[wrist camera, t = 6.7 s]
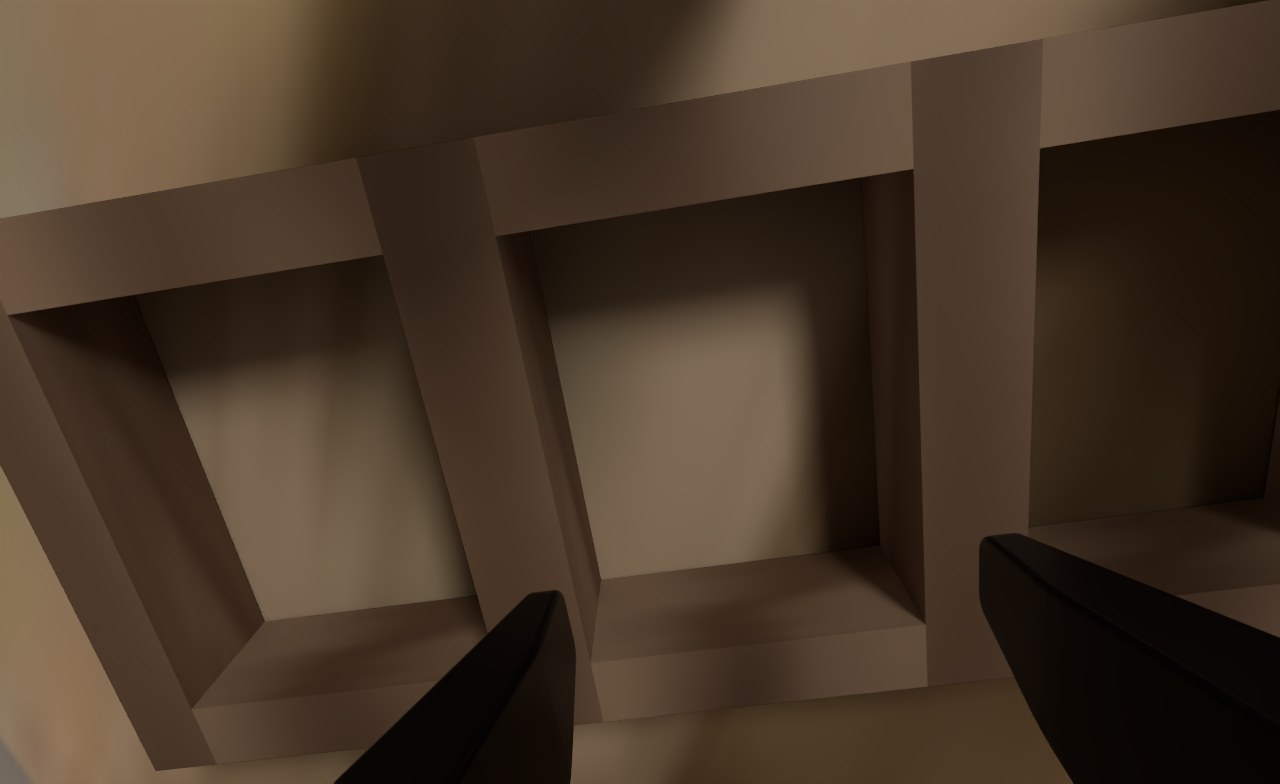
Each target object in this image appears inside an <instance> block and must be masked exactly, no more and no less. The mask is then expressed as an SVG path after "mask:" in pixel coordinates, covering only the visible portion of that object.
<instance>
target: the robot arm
mask: <svg viewBox="0 0 1280 784" xmlns="http://www.w3.org/2000/svg"><path fill="white" fill-rule="evenodd" d="M979 599H980V604H981V608H982V611H983V613H984V616H985V618H986V620H987V622H988V624H989V626H990V628H991V630H992V632H993V634H994V636H995V638H996V640H997V642H998V644H999V646H1000V649H1001V651H1002V653H1003V655H1004V657H1005V659H1006V661H1007V663H1008V665H1009V667H1010V669H1011V671H1012V673H1013V675H1014V677H1015V679H1016V681H1017V684H1018V686H1019V688H1020V690H1021V692H1022V694H1023V696H1024V698H1025V700H1026V702H1027V704H1028V706H1029V708H1030V710H1031V712H1032V714H1033V716H1034V718H1035V720H1036V722H1037V724H1038V726H1039V728H1040V729H1041V731H1042V733H1043V735H1044V736H1045V738H1046V740H1047V741H1048V743H1049V745H1050V746H1051V748H1052V750H1053V751H1054V753H1055V755H1056V756H1057V758H1058V759H1059V761H1060V763H1061V764H1062V766H1063V767H1064V769H1065V771H1066V772H1067V774H1068V775H1069V777H1070V779H1071V780H1072V782H1073V783H1074V784H1280V637H1277V636H1275V635H1272V634H1270V633H1267V632H1265V631H1262V630H1260V629H1257V628H1255V627H1252V626H1250V625H1247V624H1245V623H1242V622H1240V621H1237V620H1235V619H1232V618H1230V617H1227V616H1225V615H1222V614H1220V613H1217V612H1215V611H1212V610H1210V609H1207V608H1205V607H1202V606H1200V605H1197V604H1195V603H1192V602H1190V601H1187V600H1185V599H1182V598H1180V597H1177V596H1175V595H1172V594H1170V593H1167V592H1165V591H1162V590H1160V589H1157V588H1155V587H1152V586H1150V585H1147V584H1145V583H1142V582H1140V581H1137V580H1135V579H1132V578H1130V577H1127V576H1125V575H1122V574H1120V573H1117V572H1115V571H1112V570H1110V569H1107V568H1104V567H1102V566H1099V565H1097V564H1094V563H1092V562H1089V561H1087V560H1084V559H1082V558H1079V557H1077V556H1074V555H1072V554H1069V553H1067V552H1064V551H1062V550H1059V549H1057V548H1054V547H1052V546H1049V545H1047V544H1044V543H1042V542H1039V541H1037V540H1034V539H1032V538H1029V537H1027V536H1024V535H1022V534H1019V533H1007V534H1000V535H992V536H986V537H984V538H983V539H982V540H981V542H980V546H979ZM575 679H576V649H575V642H574V637H573V633H572V629H571V624H570V620H569V616H568V611H567V607H566V603H565V599H564V596H563V594H562V593H561V592H560V591H559V590H549V591H541V592H533V593H530V594H528V595H527V596H526V597H525V598H524V599H523V600H522V601H520V602H519V603H518V604H517V605H516V606H515V607H514V608H513V609H512V610H511V611H510V612H509V613H508V614H507V615H506V616H505V617H504V618H503V619H502V620H501V621H500V622H499V623H498V624H497V625H496V626H495V627H494V628H493V629H492V630H491V631H490V632H489V633H488V634H486V635H485V636H484V637H483V638H482V639H481V640H480V641H479V642H478V643H477V644H476V645H475V646H474V647H473V648H472V649H471V650H470V651H469V652H468V653H467V654H466V655H465V656H464V657H463V658H462V659H461V660H460V661H459V662H458V663H457V664H456V665H455V666H453V667H452V668H451V669H450V670H449V671H448V672H447V673H446V674H445V675H444V676H443V677H442V678H441V679H440V680H439V681H438V682H437V683H436V684H435V685H434V686H433V687H432V688H431V689H430V690H429V691H428V692H427V693H426V694H425V695H424V696H423V697H422V698H421V699H419V700H418V701H417V702H416V703H415V704H414V705H413V706H412V707H411V708H410V709H409V710H408V711H407V712H406V713H405V714H404V715H403V716H402V717H401V718H400V719H399V720H398V721H397V722H396V723H395V724H394V725H393V726H392V727H391V728H390V729H389V730H388V731H387V732H385V733H384V734H383V735H382V736H381V737H380V738H379V739H378V740H377V741H376V742H375V743H374V744H373V745H372V746H371V747H370V748H369V749H368V750H367V751H366V752H365V753H364V754H363V755H362V756H361V757H360V758H359V759H358V760H357V761H356V762H355V763H354V764H353V765H351V766H350V767H349V768H348V769H347V770H346V771H345V772H344V773H343V774H342V775H341V776H340V777H339V778H338V779H337V780H336V781H335V782H334V784H570V780H571V767H572V750H573V726H574V702H575Z"/></svg>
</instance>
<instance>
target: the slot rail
mask: <svg viewBox="0 0 1280 784" xmlns="http://www.w3.org/2000/svg"><path fill="white" fill-rule="evenodd" d="M1275 110H1280V0H1267V1H1261V2H1255V3H1249V4H1243V5H1238V6H1232V7H1226V8H1220V9H1214V10H1209V11H1203V12H1197V13H1191V14H1185V15H1180V16H1174V17H1168V18H1162V19H1156V20H1151V21H1145V22H1139V23H1133V24H1127V25H1122V26H1116V27H1110V28H1104V29H1098V30H1093V31H1087V32H1081V33H1075V34H1069V35H1064V36H1058V37H1052V38H1046V39H1040V40H1035V41H1029V42H1023V43H1017V44H1011V45H1006V46H1000V47H994V48H988V49H982V50H977V51H971V52H965V53H959V54H953V55H948V56H942V57H936V58H930V59H924V60H919V61H913V62H907V63H901V64H895V65H889V66H884V67H878V68H872V69H866V70H860V71H855V72H849V73H843V74H837V75H831V76H826V77H820V78H814V79H808V80H802V81H797V82H791V83H785V84H779V85H773V86H768V87H762V88H756V89H750V90H744V91H739V92H733V93H727V94H721V95H715V96H710V97H704V98H698V99H692V100H686V101H681V102H675V103H669V104H663V105H657V106H652V107H646V108H640V109H634V110H628V111H623V112H617V113H611V114H605V115H599V116H594V117H588V118H582V119H576V120H570V121H565V122H559V123H553V124H547V125H541V126H536V127H530V128H524V129H518V130H512V131H506V132H501V133H495V134H489V135H483V136H477V137H472V138H466V139H460V140H454V141H448V142H443V143H437V144H431V145H425V146H419V147H414V148H408V149H402V150H396V151H390V152H385V153H379V154H373V155H367V156H361V157H356V158H350V159H344V160H338V161H332V162H327V163H321V164H315V165H309V166H303V167H298V168H292V169H286V170H280V171H274V172H269V173H263V174H257V175H251V176H245V177H240V178H234V179H228V180H222V181H216V182H211V183H205V184H199V185H193V186H187V187H182V188H176V189H170V190H164V191H158V192H152V193H147V194H141V195H135V196H129V197H123V198H118V199H112V200H106V201H100V202H94V203H89V204H83V205H77V206H71V207H65V208H60V209H54V210H48V211H42V212H36V213H31V214H25V215H19V216H13V217H7V218H2V219H0V465H1V467H2V469H3V471H4V473H5V475H6V477H7V479H8V481H9V483H10V485H11V487H12V489H13V491H14V493H15V494H16V496H17V498H18V500H19V502H20V504H21V506H22V508H23V510H24V512H25V514H26V516H27V518H28V520H29V522H30V524H31V526H32V528H33V530H34V532H35V534H36V536H37V538H38V540H39V542H40V544H41V546H42V548H43V550H44V552H45V554H46V556H47V558H48V560H49V562H50V564H51V565H52V567H53V569H54V571H55V573H56V575H57V577H58V579H59V581H60V583H61V585H62V587H63V589H64V591H65V593H66V595H67V597H68V599H69V601H70V603H71V605H72V607H73V609H74V611H75V613H76V615H77V617H78V619H79V621H80V623H81V625H82V627H83V629H84V631H85V633H86V634H87V636H88V638H89V640H90V642H91V644H92V646H93V648H94V650H95V652H96V654H97V656H98V658H99V660H100V662H101V664H102V666H103V668H104V670H105V672H106V674H107V676H108V678H109V680H110V682H111V684H112V686H113V688H114V690H115V692H116V694H117V696H118V698H119V700H120V702H121V704H122V705H123V707H124V709H125V711H126V713H127V715H128V717H129V719H130V721H131V723H132V725H133V727H134V729H135V731H136V733H137V735H138V737H139V739H140V741H141V743H142V745H143V747H144V749H145V751H146V753H147V755H148V757H149V759H150V761H151V763H152V765H153V767H154V769H155V771H160V770H169V769H178V768H187V767H196V766H205V765H215V764H224V763H233V762H242V761H251V760H260V759H269V758H279V757H288V756H297V755H306V754H315V753H324V752H334V751H343V750H352V749H361V748H370V747H371V746H372V745H373V744H374V743H375V742H376V741H377V740H378V739H379V738H380V737H381V736H382V735H383V734H384V733H385V732H387V731H388V730H389V729H390V728H391V727H392V726H393V725H394V724H395V723H396V722H397V721H398V720H399V719H400V718H401V717H402V716H403V715H404V714H405V713H406V712H407V711H408V710H409V709H410V708H411V707H412V706H413V705H414V704H415V703H416V702H417V701H418V700H419V699H421V698H422V697H423V696H424V695H425V694H426V693H427V692H428V691H429V690H430V689H431V688H432V687H433V686H434V685H435V684H436V683H437V682H438V681H439V680H440V679H441V678H442V677H443V676H444V675H445V674H446V673H447V672H448V671H449V670H450V669H451V668H452V667H453V666H455V665H456V664H457V663H458V662H459V661H460V660H461V659H462V658H463V657H464V656H465V655H466V654H467V653H468V652H469V651H470V650H471V649H472V648H473V647H474V646H475V645H476V644H477V643H478V642H479V641H480V640H481V639H482V638H483V637H484V636H485V635H486V634H488V633H489V632H490V631H491V630H492V629H493V628H494V627H495V626H496V625H497V624H498V623H499V622H500V621H501V620H502V619H503V618H504V617H505V616H506V615H507V614H508V613H509V612H510V611H511V610H512V609H513V608H514V607H515V606H516V605H517V604H518V603H519V602H520V601H522V600H523V599H524V598H525V597H526V596H527V595H528V594H530V593H533V592H541V591H549V590H559V591H560V592H561V593H562V594H563V596H564V599H565V603H566V607H567V611H568V616H569V620H570V624H571V629H572V633H573V637H574V642H575V649H576V679H575V702H574V725H581V724H590V723H599V722H608V721H617V720H626V719H636V718H645V717H654V716H663V715H672V714H681V713H691V712H700V711H709V710H718V709H727V708H736V707H746V706H755V705H764V704H773V703H782V702H791V701H800V700H810V699H819V698H828V697H837V696H846V695H855V694H865V693H874V692H883V691H892V690H901V689H910V688H919V687H929V686H938V685H947V684H956V683H965V682H974V681H984V680H993V679H1002V678H1011V677H1014V675H1013V673H1012V671H1011V669H1010V667H1009V665H1008V663H1007V661H1006V659H1005V657H1004V655H1003V653H1002V651H1001V649H1000V646H999V644H998V642H997V640H996V638H995V636H994V634H993V632H992V630H991V628H990V626H989V624H988V622H987V620H986V618H985V616H984V613H983V611H982V608H981V604H980V599H979V546H980V542H981V540H982V539H983V538H984V537H986V536H992V535H1000V534H1007V533H1019V534H1022V535H1024V536H1027V537H1029V538H1032V539H1034V540H1037V541H1039V542H1042V543H1044V544H1047V545H1049V546H1052V547H1054V548H1057V549H1059V550H1062V551H1064V552H1067V553H1069V554H1072V555H1074V556H1077V557H1079V558H1082V559H1084V560H1087V561H1089V562H1092V563H1094V564H1097V565H1099V566H1102V567H1104V568H1107V569H1110V570H1112V571H1115V572H1117V573H1120V574H1122V575H1125V576H1127V577H1130V578H1132V579H1135V580H1137V581H1140V582H1142V583H1145V584H1147V585H1150V586H1152V587H1155V588H1157V589H1160V590H1162V591H1165V592H1167V593H1170V594H1172V595H1175V596H1177V597H1180V598H1182V599H1185V600H1187V601H1190V602H1192V603H1195V604H1197V605H1200V606H1202V607H1205V608H1207V609H1210V610H1212V611H1215V612H1217V613H1220V614H1222V615H1225V616H1227V617H1230V618H1232V619H1235V620H1237V621H1240V622H1242V623H1245V624H1247V625H1250V626H1252V627H1255V628H1257V629H1260V630H1262V631H1265V632H1267V633H1270V634H1272V635H1275V636H1277V637H1280V396H1279V402H1278V409H1277V415H1276V422H1275V428H1274V435H1273V441H1272V448H1271V454H1270V460H1269V467H1268V473H1267V480H1266V486H1265V493H1264V498H1260V499H1252V500H1244V501H1236V502H1228V503H1220V504H1212V505H1204V506H1196V507H1187V508H1179V509H1171V510H1163V511H1155V512H1147V513H1139V514H1131V515H1123V516H1115V517H1107V518H1099V519H1091V520H1083V521H1075V522H1066V523H1058V524H1050V525H1042V526H1034V527H1029V494H1030V461H1031V427H1032V394H1033V361H1034V327H1035V294H1036V261H1037V228H1038V194H1039V161H1040V148H1046V147H1052V146H1058V145H1064V144H1070V143H1076V142H1083V141H1089V140H1095V139H1101V138H1107V137H1114V136H1120V135H1126V134H1132V133H1138V132H1145V131H1151V130H1157V129H1163V128H1169V127H1176V126H1182V125H1188V124H1194V123H1200V122H1207V121H1213V120H1219V119H1225V118H1231V117H1237V116H1244V115H1250V114H1256V113H1262V112H1268V111H1275ZM860 177H862V195H863V215H864V235H865V255H866V275H867V295H868V314H869V334H870V354H871V374H872V394H873V414H874V433H875V453H876V473H877V493H878V513H879V533H880V546H873V547H865V548H857V549H849V550H841V551H833V552H825V553H816V554H808V555H800V556H792V557H784V558H776V559H768V560H760V561H752V562H744V563H736V564H728V565H720V566H712V567H704V568H696V569H687V570H679V571H671V572H663V573H655V574H647V575H639V576H631V577H623V578H615V579H607V580H601V577H600V573H599V568H598V563H597V558H596V553H595V548H594V544H593V539H592V534H591V529H590V524H589V519H588V514H587V510H586V505H585V500H584V495H583V490H582V485H581V481H580V476H579V471H578V466H577V461H576V456H575V451H574V447H573V442H572V437H571V432H570V427H569V422H568V418H567V413H566V408H565V403H564V398H563V393H562V388H561V384H560V379H559V374H558V369H557V364H556V359H555V354H554V350H553V345H552V340H551V335H550V330H549V325H548V321H547V316H546V311H545V306H544V301H543V296H542V291H541V287H540V282H539V277H538V272H537V267H536V262H535V258H534V253H533V248H532V243H531V238H530V233H529V231H532V230H538V229H544V228H550V227H556V226H563V225H569V224H575V223H581V222H587V221H594V220H600V219H606V218H612V217H618V216H624V215H631V214H637V213H643V212H649V211H655V210H662V209H668V208H674V207H680V206H686V205H693V204H699V203H705V202H711V201H717V200H724V199H730V198H736V197H742V196H748V195H755V194H761V193H767V192H773V191H779V190H785V189H792V188H798V187H804V186H810V185H816V184H823V183H829V182H835V181H841V180H847V179H854V178H860ZM377 255H383V258H384V261H385V265H386V268H387V272H388V276H389V279H390V283H391V286H392V290H393V294H394V297H395V301H396V304H397V308H398V312H399V315H400V319H401V322H402V326H403V330H404V333H405V337H406V340H407V344H408V348H409V351H410V355H411V358H412V362H413V366H414V369H415V373H416V376H417V380H418V384H419V387H420V391H421V395H422V398H423V402H424V405H425V409H426V413H427V416H428V420H429V423H430V427H431V431H432V434H433V438H434V441H435V445H436V449H437V452H438V456H439V459H440V463H441V467H442V470H443V474H444V477H445V481H446V485H447V488H448V492H449V495H450V499H451V503H452V506H453V510H454V513H455V517H456V521H457V524H458V528H459V532H460V535H461V539H462V542H463V546H464V550H465V553H466V557H467V560H468V564H469V568H470V571H471V575H472V578H473V582H474V586H475V589H476V593H477V596H470V597H462V598H454V599H446V600H437V601H429V602H421V603H413V604H405V605H397V606H389V607H381V608H373V609H365V610H357V611H349V612H341V613H333V614H325V615H316V616H308V617H300V618H292V619H284V620H276V621H268V622H264V619H263V617H262V614H261V612H260V609H259V607H258V604H257V602H256V599H255V597H254V595H253V592H252V590H251V587H250V585H249V582H248V580H247V577H246V575H245V572H244V570H243V567H242V565H241V562H240V560H239V557H238V555H237V552H236V550H235V547H234V545H233V542H232V540H231V537H230V535H229V532H228V530H227V527H226V525H225V522H224V520H223V517H222V515H221V512H220V510H219V508H218V505H217V503H216V500H215V498H214V495H213V493H212V490H211V488H210V485H209V483H208V480H207V478H206V475H205V473H204V470H203V468H202V465H201V463H200V460H199V458H198V455H197V453H196V450H195V448H194V445H193V443H192V440H191V438H190V435H189V433H188V430H187V428H186V426H185V423H184V421H183V418H182V416H181V413H180V411H179V408H178V406H177V403H176V401H175V398H174V396H173V393H172V391H171V388H170V386H169V383H168V381H167V378H166V376H165V373H164V371H163V368H162V366H161V363H160V361H159V358H158V356H157V353H156V351H155V348H154V346H153V344H152V341H151V339H150V336H149V334H148V331H147V329H146V326H145V324H144V321H143V319H142V316H141V314H140V311H139V309H138V306H137V304H136V301H135V299H134V296H133V295H135V294H142V293H148V292H154V291H160V290H166V289H172V288H179V287H185V286H191V285H197V284H203V283H210V282H216V281H222V280H228V279H234V278H241V277H247V276H253V275H259V274H265V273H272V272H278V271H284V270H290V269H296V268H303V267H309V266H315V265H321V264H327V263H333V262H340V261H346V260H352V259H358V258H364V257H371V256H377Z"/></svg>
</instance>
